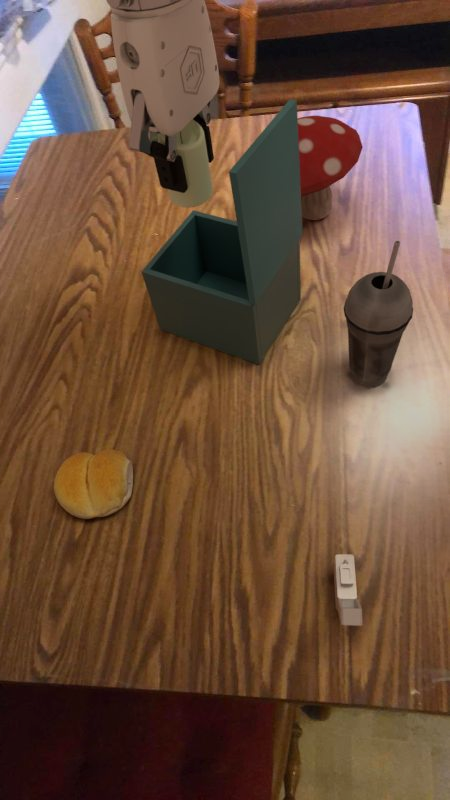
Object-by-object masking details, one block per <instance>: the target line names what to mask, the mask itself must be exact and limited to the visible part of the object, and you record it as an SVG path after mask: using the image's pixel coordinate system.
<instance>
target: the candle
mask: <svg viewBox="0 0 450 800" xmlns="http://www.w3.org/2000/svg"><path fill="white" fill-rule="evenodd" d="M158 142H159V143H161V144H163V145H165V135H164V134H159V133H158ZM176 146H177V155H178V156H181V157H182V161H183V166H184V171H185V176H186V181H187V186H188V189H187V190H186V192H185V193H181V192H177V191H173V190H169V189H167V193H168V197H169V200H170V202H171V203H172V204H173V205H174V206H177V207H179V208H184V209H185V208H188V209H189V208H196V207H199V206H202V205H203V204H205V203H207V202H208V201H209V200H210V199H211V198H212V196H213V193H214V187H213V181H212V174H211V167H210V163H209V161H208V154H207V148H206V141H205V135H204V131H203V129H202V127H201V126H200V125H199V123H197V122H196V121H195V120H193V119H192V120H191V121H190V122H189V123H188V125H187V126H186V127H185V128H184V129H183V130H181V131H180V132H179V133H178V134H177V135H176Z"/></svg>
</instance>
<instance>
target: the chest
mask: <svg viewBox="0 0 450 800" xmlns="http://www.w3.org/2000/svg"><path fill="white" fill-rule="evenodd" d="M141 276H142V278H143V281H144V284H145V288H146V291H147V294H148V297H149V300H150V304H151V306H152V309H153V312H154V316H155V319H156V321H157V324H158V328H159V330H160V331H163V332H166V333H169V334H172V335H175V336H176V337H180V338H183V339H185V340H188V341H192V342H193V343H196V344H200V345H203V346H205V347H208V348H210V349H213V350H216V351H219V352H222V353H225V354H227V355H230V356H233V357H236V358H238V359H242V360H243V361H247V362H249V363H252V364H255V365H257V366H260V365H261V363H262V362H263V360H264V359H265V357H266V355H267V354H268V352H269V351H270V349H271V348H272V346H273V344H274V343H275V342H276V340H277V338H278V337H279V335H280V333H281V331H282V330H283V328H284V327H285V325H286V324H287V322H288V321H289V319H290V317H291V316H292V314H293V312H294V311H295V310H296V308H297V306H298V304H299V303H300V301H301V293H302V291H301V287H302V286H301V239H300V240H299V241H298V243H297V244H296V246H295V247H294V249H293V250H292V252H291V253H290V255H289V256H288V258H287V259H286V261H285V262H284V264H283V265H282V266H281V268H280V269H279V271H278V272H277V274H276V275H275V277H274V278H273V280H272V281H271V283H270V284H269V286H268V287H267V289H266V290H265V292H264V293H263V295H262V296H261V297H260V299H259V300H258V302H257V303H256V305H254V304H251V303H249V297H248V290H247V284H246V277H245V271H244V265H243V258H242V252H241V245H240V239H239V233H238V226H237V220H232V219H229V218H224V217H221V216H217V215H213V214H209V213H205V212H202V211H198V210H195V209H192V211H191V212H190V213H189V214H188V215H187V217H186V218H185V219H184V220H183V221H182V223H181V224H180V225H179V226H178V227H177V229H176V230H175V231H174V232H173V233H172V234H171V235H170V237H169V238H168V239H167V241H166V242H165V243H164V244H163V245H162V246H161V247H160V248H159V250H158V251H157V252H156V253H155V254H154V256H153V257H152V258H151V259H150V261H149V262H148V263H147V264H146V265H145V266H144V268H143V269H142V270H141Z"/></svg>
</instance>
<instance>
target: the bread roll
mask: <svg viewBox="0 0 450 800" xmlns="http://www.w3.org/2000/svg"><path fill="white" fill-rule="evenodd" d="M133 486H134V467H133V462H132V460H130V459H129V458H128V457H127V456H126V454H124V453H123V452H122V451H120V450H117V449H113V448H105V449H103V450H101V451H99V452H97V453H95V454H92V453H91V452H86V451H81V452H76V453H75V454H73V455H71V456H69V457H68V458H67V459H65V460H64V461H63V463H62V464H61V465H60V467H59V468H58V470H57V472H56V474H55V477H54V482H53V493H54V495H55V498H56V500H57V502H58V504H59V505H60V506H61V507H62V509H64V510H65V511H66V513H69V515H71V516H73V517H75V518H79V519H84V520H90V519H94V518H102V517H107V516H110V515H112V514H115V513H116V512H118V511H120V510H121V509H122V508H124V507H125V506H126V505H127V503H128V501H129V500H130V498H131V497H132V492H133Z"/></svg>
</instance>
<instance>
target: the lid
mask: <svg viewBox="0 0 450 800" xmlns="http://www.w3.org/2000/svg"><path fill="white" fill-rule="evenodd" d="M228 174H229V180H230V188H231V193H232V200H233V206H234V213H235V219H236V220H235V221H237V226H238V233H239V239H240V245H241V252H242V258H243V265H244V271H245V277H246V284H247V290H248V297H249V303H251V304H254V305H256V303H257V302H258V300H259V299H260V297H261V296H262V295H263V293H264V292H265V290H266V289H267V287H268V286H269V284H270V283H271V281H272V280H273V278H274V277H275V275H276V274H277V272H278V271H279V269H280V268H281V266H282V265H283V264H284V262H285V261H286V259H287V258H288V256H289V255H290V253H291V252H292V250H293V249H294V247H295V246H296V244H297V243H298V241H299V240H300V241H301V238H302V237H303V216H302V210H301V188H300V165H299V142H298V102H297V99H292V98H290V99H288V100H287V102H285V104H284V105H283V106H282V107H281V108H280V110H279V111H278V112H277V113H276V115H275V116H274V117H273V119H271V121H270V122H269V123H268V124H267V126H266V127H265V128H264V129H263V130H262V132H261V133H260V134H259V135H258V136H257V137H256V138H255V139H254V141H253V142H252V143H251V144H250V145H249V147H248V148H247V149H246V150H245V152H244V153H243V154H242V155H241V156H240V157H239V158H238V160H237V161H236V162H235V164H234V165H232V167H231V168H230V169H229V171H228Z"/></svg>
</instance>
